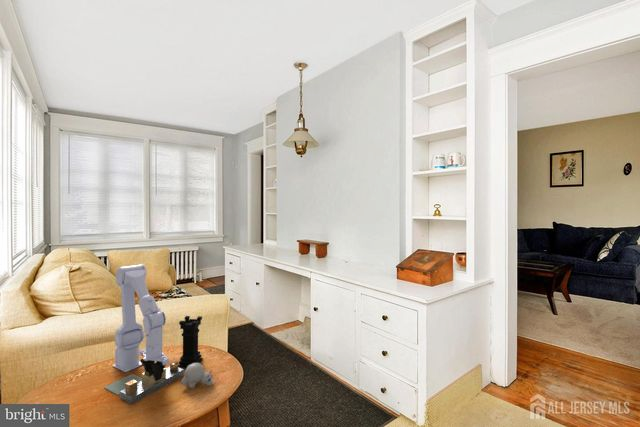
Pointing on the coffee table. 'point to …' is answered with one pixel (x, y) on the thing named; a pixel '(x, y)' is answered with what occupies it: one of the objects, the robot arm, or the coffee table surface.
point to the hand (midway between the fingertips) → (154, 377)
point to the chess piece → (190, 341)
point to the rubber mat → (121, 384)
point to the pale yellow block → (151, 377)
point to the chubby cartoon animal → (196, 375)
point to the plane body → (141, 390)
